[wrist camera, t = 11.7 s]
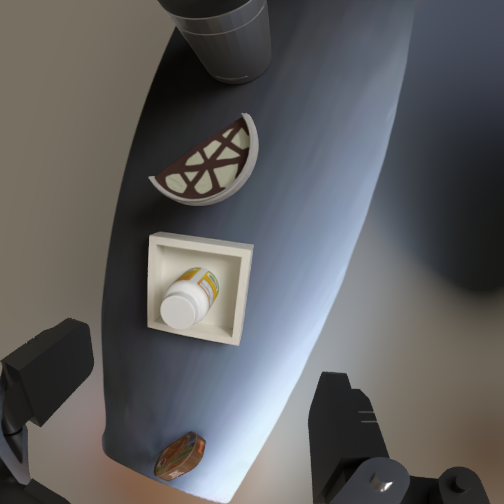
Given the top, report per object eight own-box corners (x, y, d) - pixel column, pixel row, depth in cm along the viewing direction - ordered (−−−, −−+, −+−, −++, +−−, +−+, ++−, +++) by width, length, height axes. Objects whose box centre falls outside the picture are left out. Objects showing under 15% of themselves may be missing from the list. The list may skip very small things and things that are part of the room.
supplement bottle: (177, 294, 40) (149, 323, 31) (188, 259, 39) (160, 281, 29) (212, 309, 40) (193, 343, 31) (225, 275, 39) (208, 301, 29)
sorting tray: (160, 231, 39) (149, 235, 36) (253, 244, 38) (251, 250, 35) (156, 317, 42) (147, 327, 39) (242, 333, 41) (238, 345, 38)
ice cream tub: (200, 220, 38) (174, 231, 29) (176, 181, 38) (144, 180, 28) (281, 169, 36) (282, 162, 26) (255, 129, 35) (247, 109, 26)
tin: (199, 425, 46) (187, 457, 38) (212, 434, 47) (203, 466, 38) (159, 451, 50) (147, 478, 41) (171, 458, 50) (160, 486, 42)
